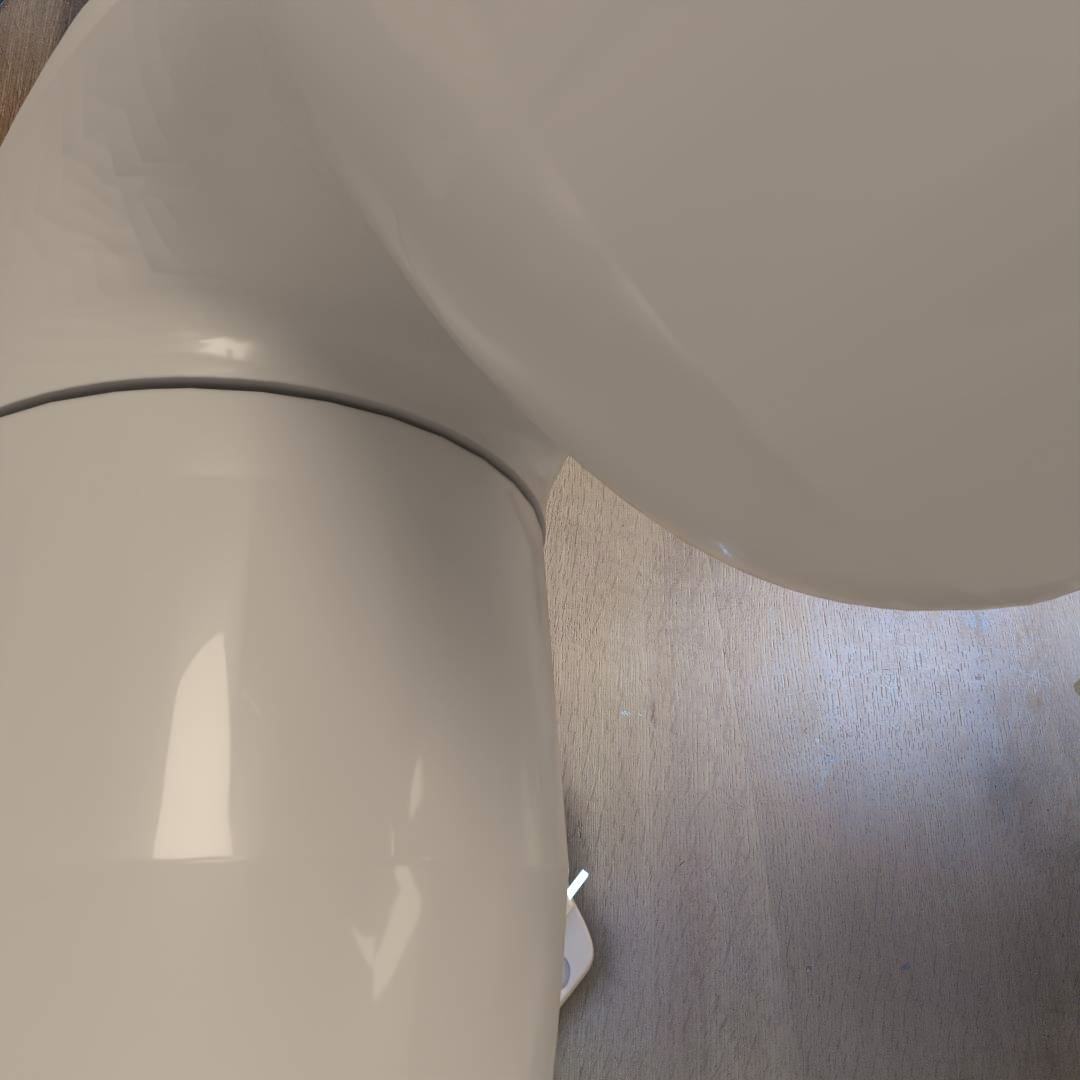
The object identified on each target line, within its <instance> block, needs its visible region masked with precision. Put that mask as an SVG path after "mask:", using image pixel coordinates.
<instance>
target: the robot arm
mask: <svg viewBox="0 0 1080 1080" xmlns="http://www.w3.org/2000/svg"><path fill="white" fill-rule="evenodd" d="M569 457H570V458H571V459H573V460H574V461H575V462H576V463H577V464H578V465H579V466H580V467H582V469H584V470H586V471H587V472H588V473H589V474H590V475H592V477H594V478H595V479H597V480H598V481H599V482H600V483H602V485H604V486H605V487H607V488H608V489H609V491H611V492H613V493H614V494H615V495H616V496H618V497H619V499H621V500H622V501H624V502H625V503H626V504H628V505H629V506H630V507H632V508H633V509H635V510H636V511H638V512H639V513H641V514H642V515H644V516H645V517H646V518H648V519H650V521H652V522H654V523H655V524H657V525H658V526H660V527H661V528H662V529H665V530H666V531H667V532H669V534H671V535H673V536H674V537H676V538H677V539H678V540H680V541H681V542H683V543H685V544H687V545H689V546H690V547H693V548H694V549H696V550H698V551H699V552H702V553H704V554H705V555H708V556H709V557H711V558H713V559H715V560H717V561H719V562H721V563H724V564H725V565H727V566H729V567H731V568H733V569H735V570H737V571H739V572H741V573H743V574H745V575H748V576H751V577H754V578H756V579H759V580H762V581H765V582H766V583H770V584H772V585H776V586H778V587H781V588H782V589H783V588H784V589H786V590H790V591H793V592H797V593H799V594H803V595H807V596H811V597H814V598H818V599H822V600H827V601H832V602H836V603H841V604H846V605H847V604H848V605H853V606H861V607H869V608H874V609H881V610H893V611H901V612H902V611H904V612H933V611H934V612H935V611H936V612H937V611H942V612H943V611H945V612H946V611H948V612H949V611H988V610H996V609H997V610H998V609H1007V608H1017V607H1018V608H1019V607H1027V606H1028V607H1029V606H1033V605H1037V604H1041V603H1045V602H1049V601H1052V600H1056V599H1058V598H1061V597H1064V596H1068V595H1070V594H1072V593H1075V592H1079V591H1080V0H88V1H87V2H86V3H85V4H84V6H82V8H81V9H80V10H79V12H78V13H77V14H76V16H75V17H74V19H73V20H72V22H71V23H70V25H69V26H68V28H67V29H66V31H65V32H64V33H63V35H62V37H61V39H60V41H59V43H58V44H57V45H56V47H55V48H54V49H53V51H52V53H51V55H50V56H49V58H48V60H47V62H46V63H45V65H43V68H42V70H41V72H40V73H39V75H38V77H37V79H36V80H35V82H34V83H33V85H32V88H31V89H30V91H29V92H28V94H27V96H26V98H25V99H24V101H23V103H22V104H21V106H20V108H19V110H18V112H17V114H16V116H15V117H14V119H13V121H12V123H11V125H10V127H9V129H8V131H7V133H6V135H5V137H4V139H3V141H2V143H1V145H0V1080H554V1071H555V1062H556V1052H557V1043H558V1034H559V1020H560V1011H561V1010H560V1009H561V1007H562V1006H563V1005H564V1004H565V1002H566V1001H567V1000H568V998H569V997H570V996H571V995H572V994H573V992H574V991H575V990H576V989H577V987H578V986H579V985H580V983H581V982H582V981H583V979H584V978H585V977H586V975H587V974H588V972H589V971H590V969H591V967H592V965H593V962H594V956H595V952H594V951H595V949H594V944H593V943H594V942H593V939H592V936H591V934H590V931H589V928H588V926H587V924H586V921H585V919H584V917H583V915H582V914H581V910H580V909H579V907H578V905H577V903H576V901H575V899H574V895H575V894H576V893H577V891H578V890H579V889H580V887H581V886H583V885H582V884H583V883H584V882H585V881H586V880H587V879H588V877H589V873H588V872H587V871H585V870H584V869H582V870H581V871H580V872H579V874H578V875H577V876H576V878H575V879H574V880H573V881H572V883H571V884H570V883H569V873H570V863H569V852H568V840H567V827H566V814H565V801H564V790H563V778H562V776H563V775H562V763H561V755H560V754H561V753H560V740H559V738H560V737H559V727H558V716H557V702H556V701H557V700H556V689H555V677H554V664H553V652H552V639H551V626H550V614H549V601H548V600H549V599H548V588H547V577H546V576H547V575H546V565H545V551H544V549H545V545H546V536H547V521H546V520H547V517H546V516H547V513H546V512H547V507H548V502H549V498H550V494H551V492H552V489H553V486H554V484H555V483H556V480H557V478H558V477H559V474H560V472H561V470H562V469H563V467H564V465H565V463H566V461H567V459H568V458H569ZM1073 687H1074V688H1073V689H1074V691H1075V693H1076V694H1077V695H1078V696H1080V678H1079V679H1078V680H1077V681H1075V682H1074V683H1073Z"/></svg>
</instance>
